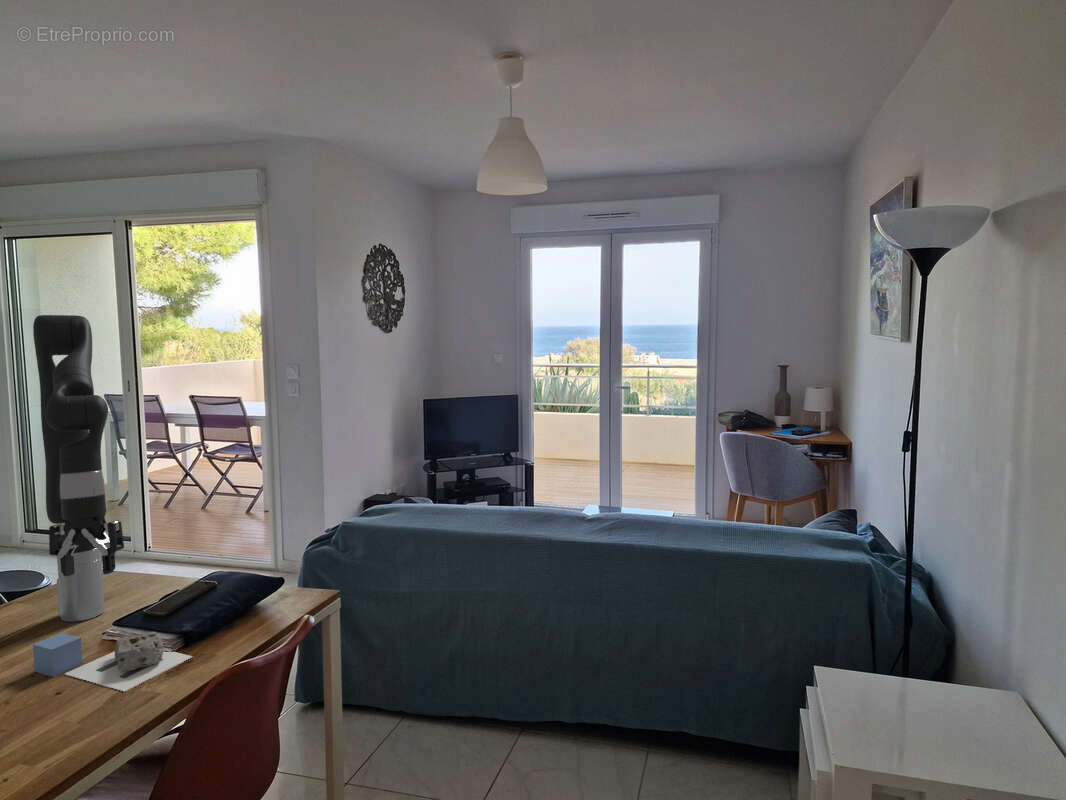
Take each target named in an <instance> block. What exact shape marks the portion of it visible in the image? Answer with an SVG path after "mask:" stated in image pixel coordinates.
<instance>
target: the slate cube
mask: <svg viewBox="0 0 1066 800" xmlns="http://www.w3.org/2000/svg"><path fill="white" fill-rule="evenodd" d="M32 650H33V664H34V665H33V666H34V673H37V672H38V673H37V674H41V673H42V675H44V674H45V675H44V676H47V675H49V676H48V677H51V676H52V677H51V678H55V677H58V676H60V675H62V674H65V673H67V672H69V671H72V670H74V669H76V668H78V667H80V666H82V665H83V652H82V651H83V650H82V638H81V637H80V636H76V635H71V634H67V633H64V632H61V633H59V634H56V635H53V636H52V637H48V638H46V639H43V640H41V641H38V642H36V643H33V644H32ZM81 664H82V665H81ZM79 665H80V666H79ZM77 666H78V667H77ZM75 667H76V668H75ZM68 670H69V671H68ZM66 671H67V672H66ZM61 673H62V674H61ZM59 674H60V675H59ZM57 675H58V676H57ZM54 676H55V677H54Z"/></svg>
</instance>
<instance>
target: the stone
mask: <svg viewBox="0 0 1066 800" xmlns="http://www.w3.org/2000/svg"><path fill="white" fill-rule="evenodd" d="M164 649H165V647H164V644H163V640H162V637H161V635H160V634H158V633H157V632H156V631H150V632H142V633H140V634H136V635H133V636H128V637H127V636H126V637H119V638H118V639H117V640H116V642H115V646H114V651H115V658H116V660H117V663H118V670H119V671H131V670H135V669H137V668H139V667H142V668H143V667H146V666H149V665H153V664H156V663H159V662H160V661H161V658H162V655H163V652H164Z"/></svg>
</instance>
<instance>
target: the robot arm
mask: <svg viewBox="0 0 1066 800" xmlns="http://www.w3.org/2000/svg"><path fill="white" fill-rule="evenodd" d="M32 325H33V326H32V329H33V330H32V331H33V332H32V333H33V334H32V335H33V342H34V349H35V356H36V363H37V371H38V372H37V373H38V380H39V391H40V393H39V395H40V396H39V397H40V420H41V432H42V441H43V450H44V451H43V452H44V459H45V460H44V461H45V509H46V515H47V519H48V520H49V522H50V523H52V524H54V525H50V526H49V527H48V535H49V536H48V539H49V541H48V545H49V548H48V549H49V550H48V551H49V552H48V553H49V555H50V556H56V563H57V579H56V591H57V592H56V594H57V607H58V609H57V610H58V617H60V620H61V621H62V622H63V621H64V622H81V621H86V620H90V619H94V618H96V616H97V617H98V615H99V616H101V615H102V614H103V613H105V595H104V578H103V575H110V574H112V573H114V570H115V569H116V553H117V552H120V550H124V548H125V543H124V541H125V540H124V535H123V527H122V526H123V525H122V521H121V520H119V519H117V520H114V521H110V522H107V520H106V518H105V517H106V514H107V504H106V502H107V501H106V490H105V488H106V487H105V479H104V474H103V469H102V468H103V467H102V441H103V440H102V439H103V435H104V430H105V428H106V427H105V426H106V424H107V423H106V422H107V419H108V416H109V415H108V414H109V406H108V403H107V402H106V400H105V399H104V398H103V397H102V396H100V395H97V394H95V390H94V383H93V377H92V362H93V332H92V328H91V327H92V326H91V324H90V321H89V320H88V319H87V317H85V316H82V315H75V314H74V315H67V314H63V315H60V314H59V315H58V314H41V315H37V316H36V317H35V318H34V321H33V324H32ZM54 356H65V357H64V358H63V359H61V360H60V361H59V362H58V363H57V365H56V363H55V362H54V358H53V357H54ZM106 532H107V533H108V534H106ZM100 614H101V615H100Z"/></svg>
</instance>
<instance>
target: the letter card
mask: <svg viewBox="0 0 1066 800" xmlns="http://www.w3.org/2000/svg"><path fill="white" fill-rule="evenodd" d="M192 657H194V656H193V655H188V654H184V653H181V652H176V651H173V652H165V651H164V652H163V655H162V658H161V661H160V662H159V663H156V664H153V665H149V666H146V667H143V668H142V667H139V668H137V669H135V670H131V671H119V670H118V663H117V660H116V658H115V650H114V651H112V652H110V653H108V654H106V655H103V656H101V657H98V658H97V659H94V660H92V661H90V662H88V663H86V664H82V665H80V666H78V667H76V668H73V669H71V670H69V671H67V672H64V673H63V674H64V676H67V677H70V676H71V678H74V677H75V679H77V678H78V680H81V679H82V680H81V681H84V680H86V681H85V682H88V681H89V682H88V683H91V682H92V684H95V683H96V684H95V685H98V684H99V686H101V685H102V687H105V688H109V689H112V688H113V689H112V690H115V689H116V691H119V690H120V691H119V692H122V691H123V693H126V692H128V691H129V690H131V689H134V688H135V686H136V687H138V686H140V685H142V684H143V682H144V683H146V682H148V681H150V680H151V679H153V678H155V677H157V676H159V675H162V674H163V673H166V672H167V671H170V670H171V669H173V668H175V667H177V666H179V665H180V664H183V663H185V662H186V660H187V661H188V659H189V660H191V659H192ZM190 658H191V659H190ZM184 661H185V662H184ZM149 679H150V680H149ZM147 680H148V681H147ZM145 681H146V682H145ZM141 683H142V684H141ZM139 684H140V685H139ZM125 691H126V692H125Z"/></svg>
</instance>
